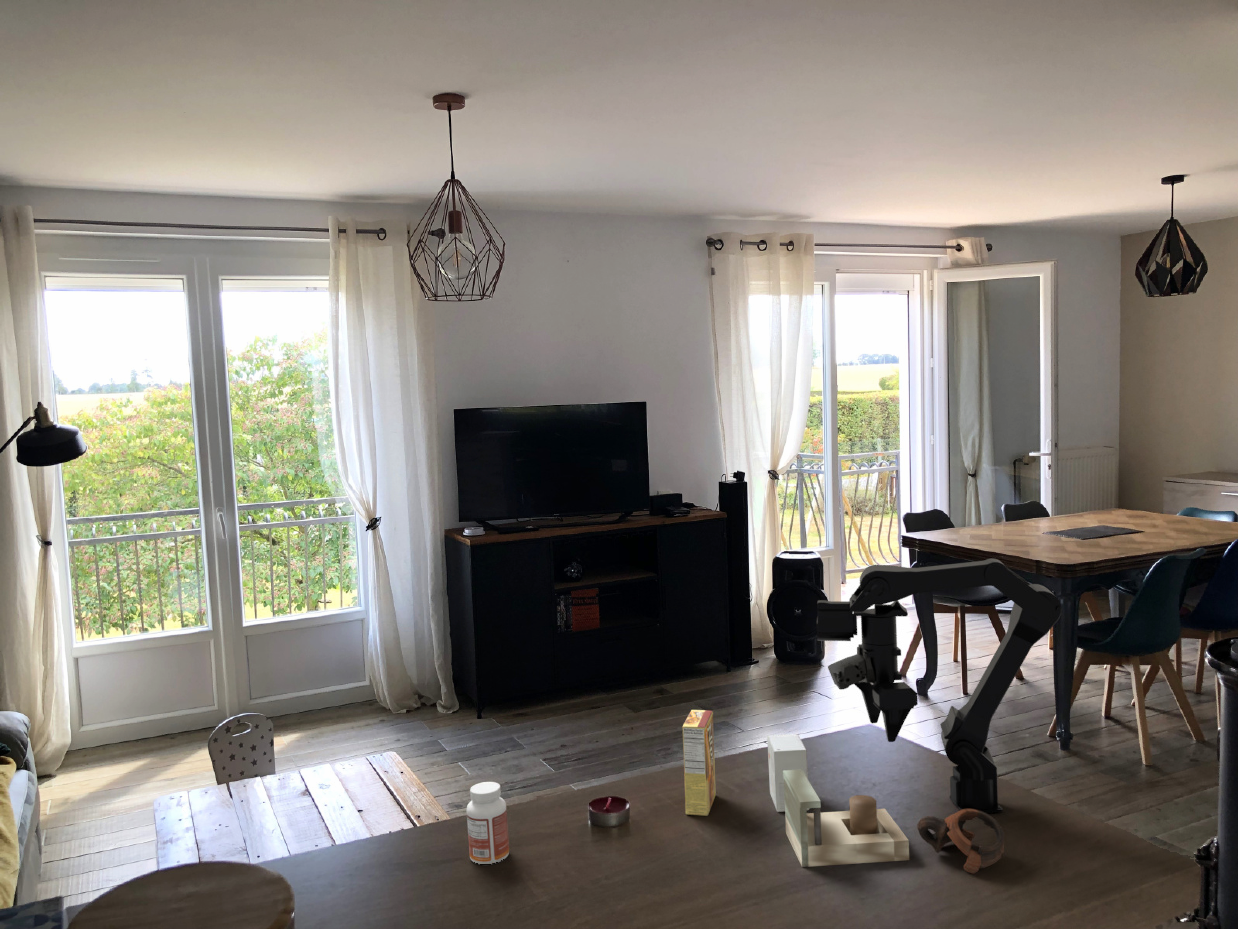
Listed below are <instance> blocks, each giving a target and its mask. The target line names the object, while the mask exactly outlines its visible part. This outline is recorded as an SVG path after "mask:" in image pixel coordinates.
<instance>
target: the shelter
mask: <svg viewBox="0 0 1238 929" xmlns="http://www.w3.org/2000/svg"><path fill="white" fill-rule="evenodd" d="M783 777H784V794H785V811H784V812H785V814H784V816H785V833H786V836H787V838H788V840H789V842H790V845H791V846H792V849H793V850H794V853H795V855H796V857H797V859H798V861H799V863H800V866H801V867H802V868H805V867H806V868H808V867H823V866H837V865H852V864H853V865H855V864H869V863H870V864H871V863H882V862H883V863H885V862H899V861H910V844H909V843H910V842H909V841H910V840H909V839H908V838H907V836H906V835H905V834H904V832H903V831H902V830H901V828H900V827H899V825H898V824H897V823H896V822H895V820H894V819H893V818H892V816H891V815H890V813H888V811H887V809H886V808H877V834H864V835H851V831H850V810H842V811H841V810H839V811H825V812H824V811H823V812H821V808H822V807H821V806H822V805H821V804H822V803H821V799H820V797H819V796H818V794H817V793H816V791H815V789H814V788H813V786H812V784H811V782H810V781H809V778H808V779H807V778H806V776H805V774H804V773H803V771H802V769H801V770H785V771H783ZM807 808H809V809H812V810H813V812H812V813H811V812H810V813H809V812H807V811H808V810H807Z"/></svg>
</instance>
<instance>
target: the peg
mask: <svg viewBox="0 0 1238 929" xmlns="http://www.w3.org/2000/svg"><path fill="white" fill-rule="evenodd" d="M848 801H849V811H850V831H851V835H864V834H877V809H878V808H877V800H876V799H875V798H874V797H872V796H870V795H866V794H858V795H853V796H851V797H849V800H848Z"/></svg>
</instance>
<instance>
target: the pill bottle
mask: <svg viewBox="0 0 1238 929" xmlns="http://www.w3.org/2000/svg"><path fill="white" fill-rule="evenodd" d="M469 791H470V792H469V795H470V800H471V801H469V803H468V804H467V806H466V821H467V822H466V823H467V824H466V825H467V836H468V838H467V839H468V853H469V859H470V860H471V861H472V862H473V863H474V862H475V863H474V864H476V863H478V865H480V864H491V865H493V864H492V863H495V864H497V863H496V862H498V863H500V862H502V861H504V860H505V859H507V857H508V856H509V854H510V842H509V841H510V840H509V838H510V837H509V826H508V815H507V814H508V812H507V811H508V810H507V803H506V801H505V800H504V798H502V797H501V794H502V792H501V784H500V783H498V782H495V781H483V782H478V783H476V784H474V785H472V786H471V787H470V788H469ZM503 859H504V860H503ZM501 860H502V861H501Z"/></svg>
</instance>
